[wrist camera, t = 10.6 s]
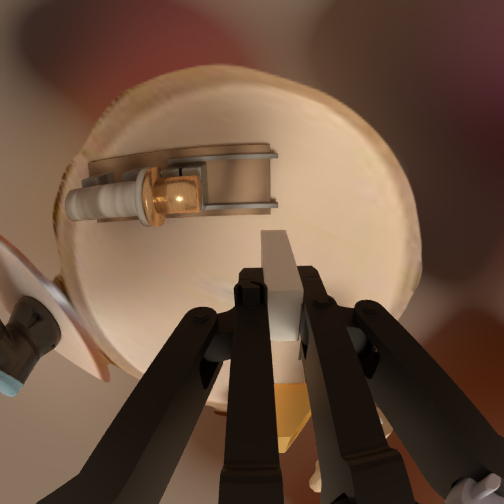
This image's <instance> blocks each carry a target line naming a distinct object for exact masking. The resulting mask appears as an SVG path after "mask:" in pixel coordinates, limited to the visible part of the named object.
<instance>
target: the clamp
mask: <svg viewBox="0 0 504 504" xmlns="http://www.w3.org/2000/svg"><path fill="white" fill-rule="evenodd" d="M274 391H275V405H276V419H277V433H278V448H279V453H285V452H286V450H287V449H288V448H289V446H290V445H291V444H292V442H293V441H294V440H295V438H296V437H297V435H298V434H299V433H300V431H301V430H302V428H303V427H304V425H305V424H306V422H307V421H308V419H309V418H310V416H311V415H312V414H311V409H310V402H309V396H308V390H307V384H306V383H295V384H274Z"/></svg>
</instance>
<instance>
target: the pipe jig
mask: <svg viewBox="0 0 504 504" xmlns="http://www.w3.org/2000/svg"><path fill="white" fill-rule="evenodd" d="M270 158H278V154H277V153H270V145H269V144H264V145H230V146H212V147H198V148H186V149H176V150H166V151H158V152H150V153H142V154H135V155H129V156H122V157H116V158H111V159H105V160H100V161H94V162H90V163H88V167H89V175H90V177H88V178H86V179H84V180H82V187H83V188H79V189H74V190H71V191H69V193H68V194H67V196H66V200H65V210H66V213H67V216H68V217H69V219H70V220H72V221H81V220H94V219H97V222H98V223H99V222H112V221H125V220H140V222H141V223H142V224H143V225H144V226H146V227H148V226H151V225H150V224H149V223H148V222H147V220H146V218H145V215H144V211H143V206H142V183H143V178H144V175H145V173H146V171H147V170H148V169H149V168H151V167H159V168H161V170H163V169H165V168H167V167H169V166H176V165H189V164H201V163H206V167H207V183H208V197H209V203H208V204H207V206H206V208H205V210H204V211H200V212H194V213H174V214H167V215H166V218H175V217H197V216H223V215H261V214H271V208H278V202H270Z"/></svg>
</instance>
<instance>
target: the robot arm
mask: <svg viewBox="0 0 504 504" xmlns="http://www.w3.org/2000/svg"><path fill="white" fill-rule="evenodd" d="M234 299H235V306H234V307H233V308H232V309H231V310H229V311H226V312H223V313H219V314H217V313H216V311H215V310H213V309H212V308H209V307H197V308H193V309H191V310H189V311H188V312H187V313H186V314H185V316H184V317H183V318H182V320H181V321H180V323H179V324H178V326H177V327H176V328H175V330H174V331H173V333H172V334H171V336H170V337H169V339H168V340H167V342H166V343H165V344H164V346H163V347H162V349H161V350H160V352H159V353H158V355H157V356H156V358H155V359H154V360H153V362H152V363H151V365H150V366H149V368H148V369H147V371H146V372H145V374H144V375H143V377H142V378H141V380H140V381H139V383H138V384H137V386H136V387H135V389H134V390H133V392H132V393H131V394H130V396H129V397H128V399H127V401H126V402H125V403H124V405H123V407H122V408H121V410H120V411H119V413H118V414H117V416H116V417H115V419H114V420H113V422H112V423H111V425H110V426H109V428H108V429H107V431H106V432H105V434H104V436H103V437H102V439H101V440H100V442H99V443H98V445H97V446H96V448H95V449H94V451H93V452H92V454H91V456H90V457H89V459H88V460H87V462H86V463H85V465H84V466H83V468H82V470H81V471H80V473H79V474H78V475H77V476H75V477H74V478H72V479H71V480H70V481H68V482H67V483H65V484H64V485H62V486H61V487H59V488H58V489H56V490H55V491H54V492H52V493H51V494H49V495H48V496H46V497H45V498H43V499H41V500H40V501H38V502H37V503H36V504H159V502H160V500H161V498H162V496H163V494H164V492H165V490H166V487H167V485H168V483H169V481H170V479H171V477H172V475H173V473H174V470H175V468H176V466H177V464H178V462H179V460H180V458H181V456H182V453H183V451H184V449H185V447H186V445H187V443H188V441H189V438H190V436H191V434H192V432H193V430H194V427H195V425H196V423H197V421H198V419H199V416H200V414H201V412H202V410H203V407H204V405H205V403H206V401H207V399H208V396H209V394H210V392H211V390H212V387H213V385H214V383H215V381H216V378H217V376H218V374H219V372H220V369H221V367H222V365H223V361H225V360H229V359H231V363H230V377H229V391H228V406H227V421H226V437H225V453H224V465H223V468H222V470H221V474H220V486H219V501H218V502H219V503H218V504H284V496H283V482H282V472H281V468H280V462H279V448H278V433H277V419H276V405H275V391H274V378H273V365H272V352H271V341H293V340H299V334H300V337H301V344H300V352H299V360H301V357H302V362H303V367H304V373H305V379H306V384H307V390H308V396H309V402H310V408H311V414H312V420H313V427H314V433H315V440H316V446H317V453H318V460H319V467H320V475H321V483H322V484H321V493H320V500H321V504H419V503H417V502H416V501H415V500H414V496H413V492H412V488H411V485H410V481H409V478H408V474H407V471H406V468H405V464H404V461H403V458H402V456H401V454H400V452H399V451H398V450H397V449H393V448H390V447H389V445H388V443H387V440H386V437H385V434H384V430H383V427H382V424H381V421H380V418H379V415H378V412H377V409H376V406H375V403H374V401H375V402H376V404H377V405H378V407H379V408H380V410H381V411H382V413H383V414H384V416H385V417H386V419H387V420H388V422H389V423H390V425H391V426H392V428H393V429H394V431H395V433H396V434H397V435H398V437H399V439H400V440H401V442H402V443H403V445H404V446H405V448H406V449H407V451H408V452H409V454H410V455H411V457H412V458H413V460H414V462H415V463H416V465H417V466H418V468H419V469H420V471H421V473H422V474H423V476H424V477H425V479H426V480H427V481H428V483H429V484H430V486H431V487H432V488H433V489H434V490H435V491H436V492H437V493H438V494H439V495H440V496H441V497H443V498H444V499H445V500H446V501H445V503H444V504H504V438H503V437H501V436H500V435H498V434H497V432H496V431H495V430H494V429H493V427H492V426H491V425H490V424H489V422H488V421H487V420H486V419H485V417H484V416H483V415H482V414H481V413H480V411H479V410H478V409H477V408H476V407H475V405H474V404H473V403H472V402H471V401H470V399H469V398H468V397H467V396H466V395H465V394H464V392H463V391H462V390H461V389H460V388H459V387H458V386H457V384H456V383H455V382H454V381H453V380H452V379H451V378H450V377H449V375H448V374H447V373H446V372H445V371H444V370H443V369H442V368H441V367H440V365H439V364H438V363H437V362H436V361H435V360H434V359H433V358H432V357H431V356H430V355H429V354H428V352H427V351H426V350H425V349H424V348H423V347H422V346H421V345H420V344H419V343H418V342H417V341H416V340H415V339H414V338H413V337H412V336H411V335H410V333H409V332H407V330H406V329H405V328H404V327H403V326H402V325H401V324H400V323H399V322H398V321H397V320H396V319H395V318H394V317H393V316H392V315H391V314H390V313H389V312H388V311H387V310H386V309H385V308H384V307H383V306H382V305H380V304H379V303H378V302H375V301H372V300H361V301H359V302H357V303H356V304H355V307H354V308H347V307H342V306H339V305H337V303H336V301H335V300H334V298H332V297H331V296H329V295H327V293H326V290H325V288H324V285H323V283H322V280H321V278H320V275H319V273H318V271H317V270H316V269H315V268H314V267H313V266H297V265H296V262H295V259H294V255H293V252H292V249H291V246H290V242H289V239H288V236H287V233H286V230H261V268H243V269H242V271H241V272H240V273H239V281H238V283H237V284H236V285H235V287H234ZM60 339H61V333H60V330H59V327H58V325H57V323H56V321H55V319H54V318H53V317H52V315H51V314H50V313H49V312H48V310H47V309H46V308H45V307H44V306H43V305H41V304H40V303H39V302H37V301H36V300H34V299H32V298H29V297H22V298H21V299H20V300H19V301H18V302H17V303H16V305H15V306H14V309H13V312H12V314H11V316H10V319H9V322H8V323H7V325H6V326H4V324H3V323H2V321H1V320H0V392H1V393H3V394H5V395H7V396H10V397H13V396H15V395H17V393H18V392H19V390H20V389H21V387H23V385H24V383H25V381H26V380H27V378H28V376H29V374H30V373H31V371H32V370H33V368H34V366H35V365H36V363H37V362H38V360H39V359H40V358H41V357H42V356H43V355H45V354H46V353H48V352H49V351H51V350H52V349H54V348H55V347H56V346H57V345H58V343H59V342H60ZM374 346H375V347H374ZM373 399H374V400H373Z"/></svg>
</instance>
